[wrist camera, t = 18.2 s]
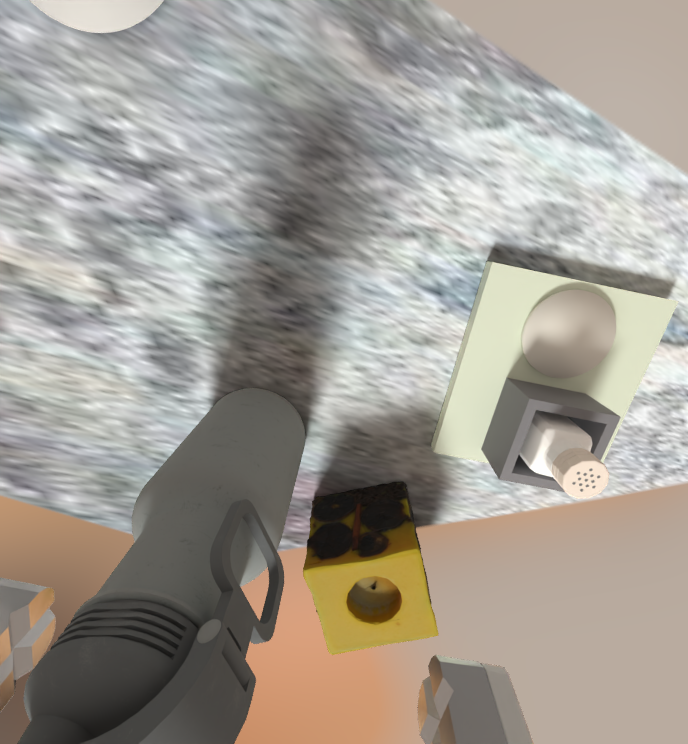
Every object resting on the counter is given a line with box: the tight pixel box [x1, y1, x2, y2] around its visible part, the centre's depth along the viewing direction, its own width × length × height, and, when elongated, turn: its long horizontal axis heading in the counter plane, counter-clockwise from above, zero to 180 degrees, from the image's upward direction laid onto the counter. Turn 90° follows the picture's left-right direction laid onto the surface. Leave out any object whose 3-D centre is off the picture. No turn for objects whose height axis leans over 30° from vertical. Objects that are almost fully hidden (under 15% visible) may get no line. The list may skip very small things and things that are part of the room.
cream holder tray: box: [431, 261, 679, 492], centre depth 34 cm, size 18×16×6 cm
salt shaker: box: [519, 410, 609, 499], centre depth 32 cm, size 4×4×10 cm
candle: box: [303, 482, 438, 655], centre depth 38 cm, size 10×10×10 cm
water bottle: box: [17, 388, 305, 744], centre depth 26 cm, size 10×10×28 cm
